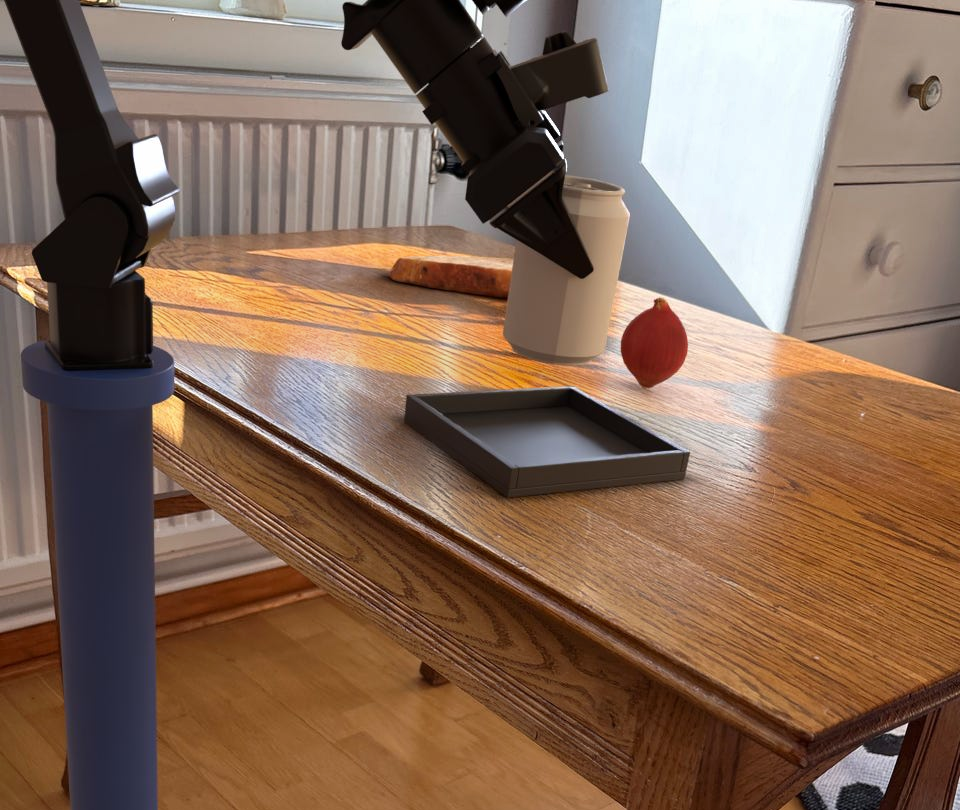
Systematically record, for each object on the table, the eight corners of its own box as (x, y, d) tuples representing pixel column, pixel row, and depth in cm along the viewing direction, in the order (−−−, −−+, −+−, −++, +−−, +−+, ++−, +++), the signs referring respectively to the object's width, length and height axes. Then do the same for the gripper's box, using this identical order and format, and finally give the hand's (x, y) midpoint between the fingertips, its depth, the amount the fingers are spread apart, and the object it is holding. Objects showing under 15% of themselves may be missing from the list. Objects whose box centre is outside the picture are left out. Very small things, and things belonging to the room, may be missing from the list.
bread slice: (375, 274, 131) (378, 240, 130) (488, 266, 143) (492, 234, 141) (487, 315, 121) (492, 279, 119) (599, 303, 133) (604, 269, 131)
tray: (507, 498, 77) (511, 468, 76) (403, 421, 88) (406, 394, 87) (684, 479, 85) (690, 451, 84) (568, 410, 96) (572, 385, 95)
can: (599, 347, 89) (630, 180, 83) (606, 375, 82) (640, 195, 76) (501, 333, 88) (525, 164, 83) (500, 360, 82) (526, 179, 76)
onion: (641, 374, 108) (658, 287, 104) (691, 393, 105) (710, 303, 101) (601, 382, 104) (617, 291, 101) (651, 401, 101) (670, 308, 97)
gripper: (551, -23, 66) (700, 211, 71) (548, -17, 82) (670, 173, 88) (398, 108, 69) (552, 321, 75) (425, 88, 86) (549, 264, 91)
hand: (586, 263), depth 82 cm, fingers closed on can, 7 cm apart
